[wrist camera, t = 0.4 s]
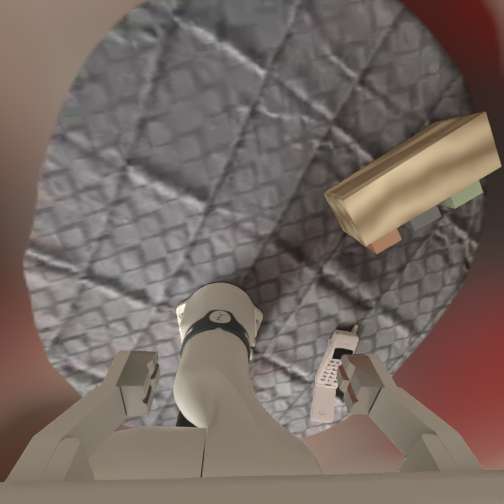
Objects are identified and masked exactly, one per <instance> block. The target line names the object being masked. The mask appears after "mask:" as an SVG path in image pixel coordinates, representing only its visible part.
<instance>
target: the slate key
mask: <svg viewBox="0 0 504 504" xmlns="http://www.w3.org/2000/svg"><path fill="white" fill-rule="evenodd" d="M440 217H442V216H441V214H440V211H439V209H438V206H437V205H435V206H434V207H432V208H430V209H429V210H427V211H425V212H424V213H422V214H420V215H418V216H417V217H415V218H413V219H412V220H410V221H408V222H407V223H405V224H403V225H401V227H404V228H406V229H409V230H411V231H414V232H416V231H418V230H419V229H421V228H423V227H425V226H426V225H428V224H430V223H431V222H433V221H435V220H437V219H438V218H440Z"/></svg>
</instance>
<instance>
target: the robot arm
mask: <svg viewBox="0 0 504 504" xmlns="http://www.w3.org/2000/svg"><path fill="white" fill-rule="evenodd" d="M176 311H177V317H178V323H179V330H180V335H181V341H182V345H181V347H182V348H181V353H180V354H181V360H180V364H179V367H178V371H177V374H176V378H175V381H174V398H175V401H176V403H177V405H178V407H179V409H180V411H181V412H182V414H183V415H184V417H185V418H186V419H187V420H188V421H190V422H191V423H193V424H194V425H195V426H197V427H199V428H197V427H170V426H143V427H137V428H132V429H126V430H121V431H116V432H114V431H115V429H116V428H117V427H118V426H119V425H120V424H121V423H122V422H123V421H124V419H125V418H126V416H134V415H149V412H150V408H151V405H152V402H153V391H154V390H155V389H156V388H157V384H158V379H159V364H158V363H157V360H158V353H157V352H148V351H119V352H118V353H117V354H116V356H115V358H114V360H113V362H112V364H111V366H110V368H109V370H108V372H107V374H106V376H105V378H104V380H103V383H102V385H101V386H97V387H95V388H94V389H93V390H92V391H90V392H89V393H88V394H87V395H85V396H84V397H83V398H82V399H80V400H79V401H78V402H77V403H75V404H74V405H73V406H72V407H70V408H69V409H68V410H66V411H65V412H64V413H63V414H62V415H60V416H59V417H58V418H57V419H55V420H54V421H53V422H52V423H50V424H49V425H48V426H46V427H45V428H44V429H43V430H41V431H40V432H39V433H38V434H36V435H35V436H34V437H33V438H32V440H31V441H30V443H29V445H28V446H27V447H26V449H25V451H24V452H23V454H22V456H21V457H20V459H19V460H18V462H17V463H16V465H15V467H14V468H13V470H12V471H11V473H10V475H9V476H8V478H7V479H6V481H5V482H2V483H0V504H504V470H484V469H483V467H482V466H481V465H480V463H479V462H478V460H477V459H476V457H475V456H474V454H473V453H472V452H471V450H470V449H469V447H468V446H467V444H466V443H465V441H464V440H463V438H462V437H461V436H460V434H459V433H458V432H457V431H456V430H454V429H453V428H452V427H451V426H449V425H448V424H447V423H445V422H444V421H443V420H442V419H440V418H439V417H438V416H436V415H435V414H434V413H433V412H431V411H430V410H429V409H427V408H426V407H425V406H423V405H422V404H421V403H420V402H418V401H417V400H416V399H415V398H413V397H412V396H410V395H409V394H408V393H407V392H406V391H404V390H403V389H402V388H397V386H396V385H395V383H394V381H393V379H392V378H391V376H390V374H389V373H388V371H387V369H386V368H385V366H384V364H383V363H382V361H381V359H380V357H379V356H378V355H365V354H344V355H343V356H342V357H341V362H342V364H341V365H340V366H339V367H338V369H337V382H338V386H339V388H340V390H341V391H342V392H344V393H345V395H344V398H343V399H344V402H345V404H346V407H347V410H348V412H349V414H369V417H370V418H371V419H372V420H373V421H374V422H375V423H376V425H377V426H378V427H379V428H380V429H381V430H382V431H383V432H384V433H385V434H386V436H387V437H388V438H389V439H390V440H391V441H392V442H393V443H394V444H395V446H396V447H397V448H398V449H399V450H400V451H401V452H402V453H403V454H404V455H405V457H406V458H405V460H404V461H403V463H402V464H401V466H400V468H399V470H400V472H390V473H389V472H388V473H347V474H324V473H323V470H322V468H321V466H320V464H319V461H318V460H317V458H316V456H315V454H314V453H313V451H312V450H311V448H310V447H309V446H308V445H307V444H306V443H305V441H304V440H302V439H300V438H299V437H297V436H295V435H294V434H292V433H291V432H289V431H288V430H286V429H285V428H284V427H283V426H281V425H280V424H279V423H278V422H277V421H276V420H275V419H274V418H273V417H272V416H271V415H270V414H269V413H268V412H267V411H266V409H265V408H264V407H263V405H262V404H261V403H260V401H259V400H258V398H257V396H256V395H255V393H254V390H253V388H252V384H251V379H250V373H249V364H248V363H249V360H251V358H252V355H253V349H251V346H253V347H254V346H255V343H256V340H254V339H255V337H256V336H257V331H258V329H259V327H260V324H261V322H262V319H263V313H262V312H261V311H260V310H259V309H258V308H256V307H255V306H254V305H253V303H252V302H251V300H250V298H249V297H248V295H247V294H246V293H245V292H244V291H243V290H241V289H240V288H238V287H236V286H234V285H231V284H228V283H213V284H209V285H206V286H204V287H202V288H200V289H199V290H197V291H196V292H195V293H194V294H193V295H192V296H191V298H189V299H188V300H186V301H184V302H182V303H180V304H179V305H178V306H177V309H176ZM181 313H183V314H181ZM256 320H257V321H256ZM206 434H207V437H206ZM205 443H206V445H205Z"/></svg>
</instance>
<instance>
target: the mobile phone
mask: <svg viewBox="0 0 504 504" xmlns="http://www.w3.org/2000/svg"><path fill="white" fill-rule="evenodd" d="M357 329H358V325H357V324H355V325H354V327H353V329H352V331H351V332H348V331H343V330H335V332H334V333H333V335H332V337H331V339H329V340H328V346H327V349H326V351H325V353H324V356H323V358H322V361H321V363H320V366H319V369H318V371H317V374H316V376H315V389H314V396H313V402H312V409H311V414H310V416H311V418H310V420H312V421H316V422H325V423H332V421H333V418H334V404H335V394H336V389H335V388H338V382H337V369H338V367H339V366H340V365H341V364H342V362H341V357H342V356H343V355H344V354H354V352H355V349H356V346H357V344H358V341H359V338H358V336H357V335H356V331H357Z"/></svg>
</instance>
